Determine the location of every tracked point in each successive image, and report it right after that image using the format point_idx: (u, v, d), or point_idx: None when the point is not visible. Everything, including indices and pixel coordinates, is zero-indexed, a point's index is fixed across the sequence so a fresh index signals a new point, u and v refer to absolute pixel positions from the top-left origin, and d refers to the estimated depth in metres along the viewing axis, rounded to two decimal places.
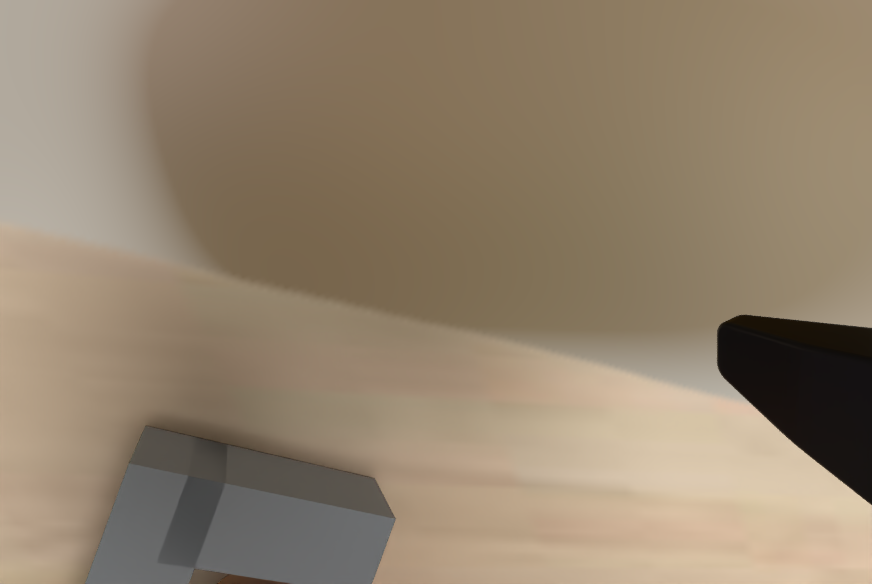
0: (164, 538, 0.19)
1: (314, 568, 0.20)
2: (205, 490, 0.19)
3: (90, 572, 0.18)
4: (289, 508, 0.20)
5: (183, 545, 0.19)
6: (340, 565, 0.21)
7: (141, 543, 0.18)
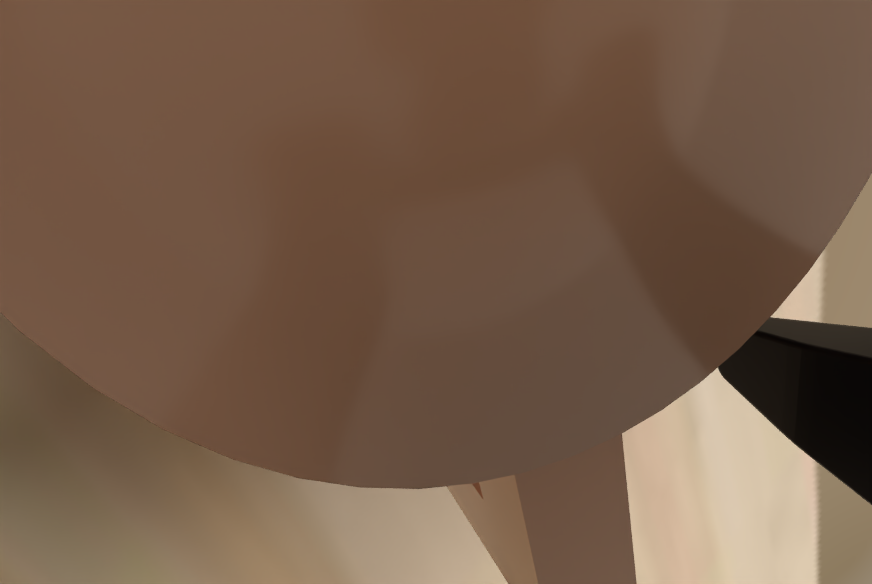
0: None
1: None
2: None
3: None
4: None
5: None
6: None
7: None
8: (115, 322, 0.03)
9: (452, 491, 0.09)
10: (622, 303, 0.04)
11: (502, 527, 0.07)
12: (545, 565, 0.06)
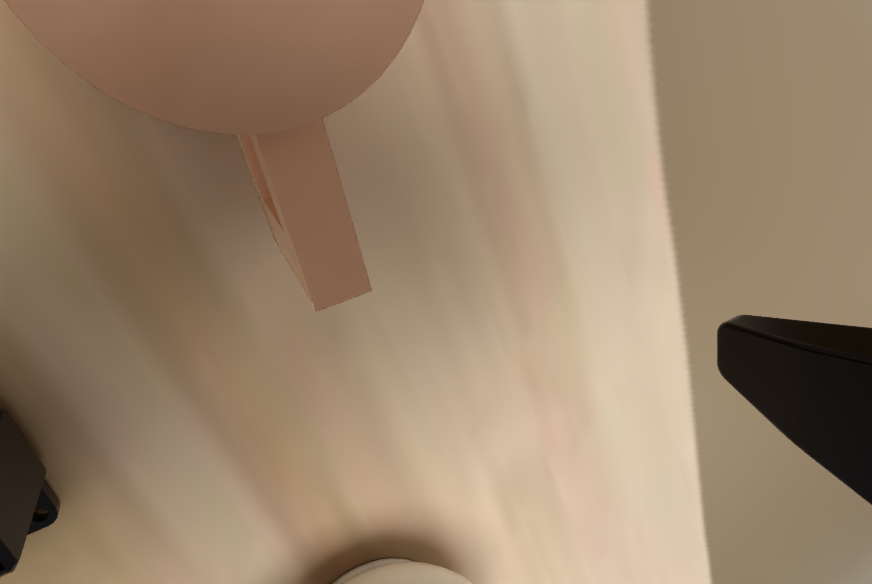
0: None
1: None
2: None
3: None
4: None
5: None
6: None
7: None
8: (46, 14, 0.08)
9: (289, 263, 0.14)
10: (282, 52, 0.09)
11: (287, 238, 0.12)
12: (298, 241, 0.11)
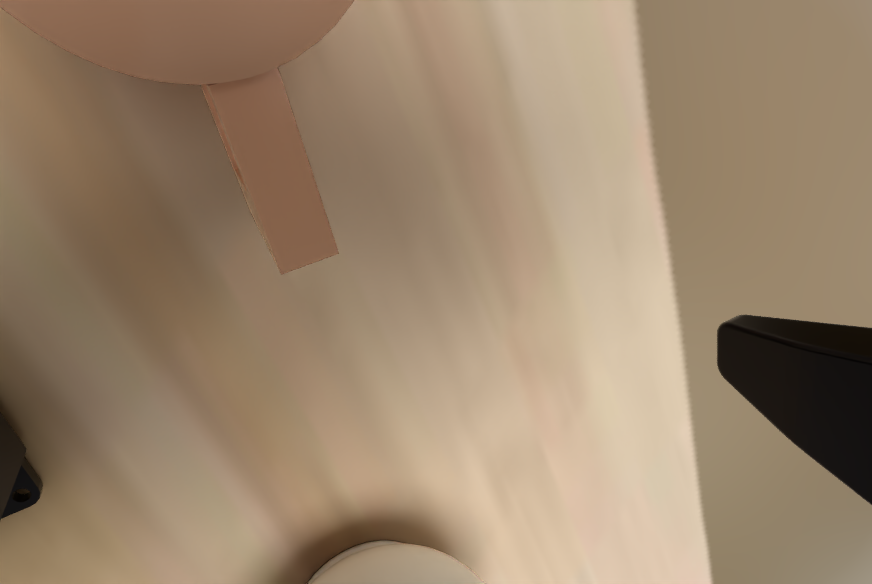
0: None
1: None
2: None
3: None
4: None
5: None
6: None
7: None
8: None
9: (260, 231, 0.14)
10: None
11: (251, 199, 0.11)
12: (260, 201, 0.11)
